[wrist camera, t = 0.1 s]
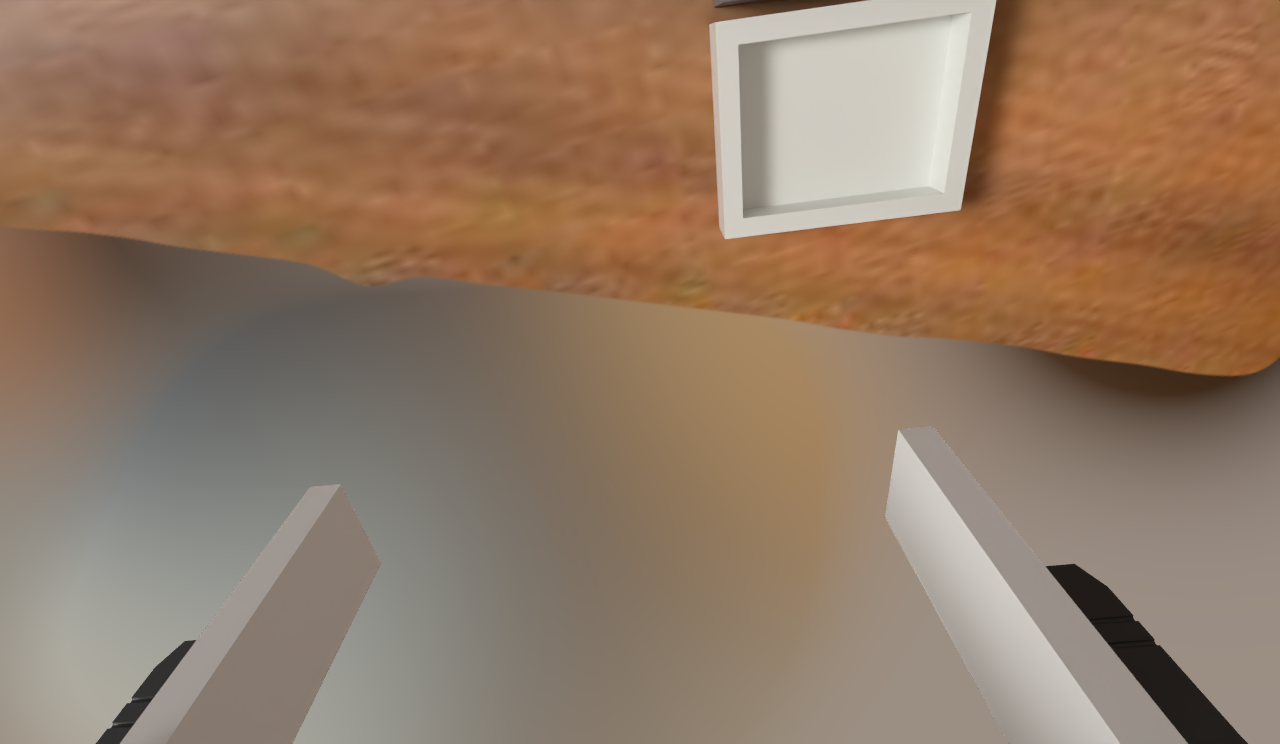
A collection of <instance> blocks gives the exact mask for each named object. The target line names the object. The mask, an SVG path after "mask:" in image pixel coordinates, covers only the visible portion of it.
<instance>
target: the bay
mask: <svg viewBox="0 0 1280 744" xmlns="http://www.w3.org/2000/svg"><path fill="white" fill-rule="evenodd" d="M755 1H762V0H713V3H714V7H720V6H727V5H734V4H741V3H748V2H755Z"/></svg>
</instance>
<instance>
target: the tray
mask: <svg viewBox="0 0 1280 744" xmlns="http://www.w3.org/2000/svg"><path fill="white" fill-rule="evenodd" d="M995 5H996V0H867V1H860V2H853V3H846V4H839V5H832V6H825V7H818V8H811V9H805V10H798V11H791V12H784V13H777V14H770V15H763V16H756V17H749V18H742V19H735V20H728V21H721V22H715V23H712V24H709V28H710V48H711V68H712V89H713V109H714V129H715V149H716V169H717V189H718V210H719V228H720V230H721V232H722V234H723V236H724V238H725V239H730V238H738V237H746V236H754V235H763V234H771V233H779V232H787V231H795V230H803V229H811V228H819V227H827V226H836V225H844V224H852V223H860V222H868V221H876V220H884V219H892V218H900V217H909V216H917V215H925V214H933V213H941V212H949V211H957V210H961V205H962V199H963V193H964V187H965V181H966V176H967V170H968V164H969V158H970V152H971V146H972V140H973V134H974V129H975V123H976V117H977V111H978V105H979V99H980V93H981V87H982V82H983V76H984V70H985V64H986V58H987V52H988V46H989V40H990V35H991V29H992V23H993V17H994V11H995Z"/></svg>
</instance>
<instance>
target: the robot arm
mask: <svg viewBox="0 0 1280 744" xmlns="http://www.w3.org/2000/svg"><path fill="white" fill-rule="evenodd" d="M885 518H886V520H887V521H888V524H889V525H890V527H891V529H892V531H893V533H894V535H895V536H896V538H897V540H898V542H899V544H900V545H901V547H902V549H903V551H904V553H905V555H906V557H907V558H908V560H909V562H910V564H911V566H912V568H913V569H914V571H915V573H916V575H917V577H918V579H919V581H920V582H921V584H922V586H923V588H924V590H925V592H926V593H927V595H928V597H929V599H930V601H931V602H932V604H933V606H934V608H935V610H936V612H937V614H938V615H939V617H940V619H941V621H942V623H943V625H944V627H945V628H946V630H947V632H948V634H949V636H950V638H951V639H952V641H953V643H954V645H955V647H956V648H957V650H958V652H959V654H960V656H961V658H962V660H963V661H964V663H965V665H966V667H967V669H968V671H969V672H970V674H971V676H972V678H973V680H974V682H975V683H976V685H977V687H978V689H979V691H980V693H981V694H982V696H983V698H984V700H985V702H986V704H987V705H988V707H989V709H990V711H991V713H992V715H993V716H994V718H995V720H996V722H997V724H998V726H999V727H1000V729H1001V731H1002V733H1003V735H1004V737H1005V739H1006V740H1007V742H1008V744H1248V743H1247V742H1246V741H1245V740H1244V739H1243V738H1242V737H1241V736H1240V735H1239V734H1238V733H1237V731H1235V729H1234V728H1233V727H1232V726H1231V725H1230V724H1229V722H1228V721H1227V720H1226V719H1225V718H1224V717H1223V716H1222V715H1221V713H1220V712H1219V711H1218V710H1217V709H1216V708H1215V707H1214V706H1213V705H1212V703H1211V702H1210V701H1209V700H1208V699H1207V698H1206V697H1205V696H1204V694H1203V693H1202V692H1201V691H1200V690H1199V689H1198V688H1197V687H1196V685H1195V684H1194V683H1193V682H1192V681H1191V680H1190V679H1189V678H1188V676H1187V675H1186V674H1185V673H1184V672H1183V671H1182V670H1181V669H1180V667H1179V666H1178V665H1177V664H1176V663H1175V662H1174V661H1173V660H1172V658H1171V657H1170V656H1169V655H1168V654H1167V653H1166V652H1165V651H1164V649H1163V648H1162V647H1161V646H1160V645H1159V646H1157V645H1156V644H1155V642H1154V638H1153V637H1152V636H1151V635H1150V634H1149V633H1148V632H1147V630H1146V629H1145V628H1144V627H1143V626H1142V625H1141V624H1140V623H1139V621H1135V620H1134V619H1133V615H1132V614H1131V612H1130V611H1129V610H1128V609H1127V608H1126V607H1125V606H1124V605H1123V603H1122V602H1121V601H1120V600H1119V599H1118V598H1117V597H1116V596H1115V595H1114V593H1113V592H1112V591H1111V590H1110V589H1109V588H1108V587H1107V586H1106V585H1104V584H1103V583H1101V582H1100V581H1098V580H1097V579H1096V578H1094V577H1093V576H1091V575H1090V574H1088V573H1087V572H1085V571H1084V570H1082V569H1081V568H1080V567H1078V566H1077V565H1075V564H1068V565H1056V566H1045V565H1044V564H1043V563H1042V562H1041V560H1040V559H1039V558H1038V557H1037V555H1036V554H1035V553H1034V552H1033V550H1032V549H1031V548H1030V547H1029V545H1028V544H1027V543H1026V542H1025V540H1024V539H1023V538H1022V537H1021V535H1020V534H1019V533H1018V532H1017V531H1016V529H1015V528H1014V527H1013V526H1012V524H1011V523H1010V522H1009V521H1008V519H1007V518H1006V517H1005V516H1004V514H1003V513H1002V512H1001V511H1000V509H999V508H998V507H997V506H996V504H995V503H994V502H993V501H992V499H991V498H990V497H989V496H988V495H987V493H986V492H985V491H984V490H983V488H982V487H981V486H980V485H979V484H978V482H977V481H976V480H975V478H974V477H973V476H972V475H971V473H970V472H969V471H968V470H967V469H966V467H965V466H964V465H963V463H962V462H961V461H960V460H959V459H958V457H957V456H956V455H955V453H954V452H953V451H952V450H951V449H950V447H949V446H948V445H947V444H946V442H945V441H944V440H943V439H942V437H941V436H940V435H939V434H938V432H937V431H936V430H935V429H934V427H932V426H931V427H921V428H911V429H900V430H898V436H897V443H896V450H895V456H894V462H893V469H892V475H891V482H890V489H889V496H888V502H887V509H886V516H885ZM380 565H381V561H380V559H379V557H378V556H377V554H376V552H375V550H374V548H373V546H372V544H371V542H370V540H369V538H368V536H367V534H366V532H365V530H364V528H363V526H362V524H361V522H360V520H359V518H358V517H357V514H356V512H355V511H354V509H353V507H352V505H351V503H350V501H349V499H348V497H347V495H346V493H345V491H344V489H343V487H342V486H341V484H337V485H328V486H317V487H310V488H309V489H308V491H307V492H306V493H305V495H304V496H303V497H302V499H301V500H300V502H299V503H298V504H297V505H296V507H295V508H294V509H293V511H292V512H291V514H290V515H289V517H288V518H287V519H286V520H285V522H284V523H283V524H282V526H281V527H280V528H279V530H278V531H277V532H276V534H275V535H274V537H273V538H272V539H271V540H270V542H269V543H268V545H267V546H266V547H265V549H264V550H263V551H262V553H261V554H260V555H259V557H258V558H257V559H256V561H255V562H254V563H253V565H252V566H251V567H250V569H249V570H248V572H247V573H246V574H245V576H244V577H243V578H242V580H241V581H240V582H239V584H238V585H237V586H236V588H235V589H234V590H233V592H232V593H231V594H230V596H229V597H228V599H227V600H226V601H225V603H224V604H223V605H222V607H221V608H220V609H219V611H218V612H217V613H216V615H215V616H214V617H213V619H212V620H211V621H210V623H209V624H208V625H207V627H206V628H205V629H204V631H203V632H202V633H201V635H200V636H199V638H198V639H197V640H193V641H185V642H183V643H182V644H181V645H180V646H179V647H178V648H177V649H175V650H174V651H173V652H172V653H171V654H170V655H169V656H168V657H166V658H165V659H164V660H163V661H162V662H161V663H160V664H158V665H157V666H156V667H155V668H154V669H153V671H152V672H151V673H150V675H149V676H148V677H147V678H146V680H145V681H144V682H143V684H142V685H141V686H140V688H139V689H138V690H137V691H136V693H135V694H134V695H133V697H132V701H131V703H128V704H126V706H125V707H124V708H123V709H122V711H121V712H120V713H119V715H118V716H117V717H116V718H115V720H114V721H113V726H112V727H111V728H110V729H107V730H106V731H105V733H104V734H103V735H102V737H101V738H100V739H99V740H98V742H97V743H96V744H292V743H293V741H294V739H295V737H296V735H297V733H298V731H299V729H300V727H301V725H302V723H303V721H304V719H305V717H306V715H307V713H308V711H309V709H310V707H311V705H312V703H313V701H314V699H315V697H316V694H317V693H318V691H319V688H320V687H321V685H322V682H323V680H324V678H325V676H326V674H327V672H328V670H329V668H330V666H331V664H332V662H333V660H334V658H335V656H336V654H337V652H338V650H339V648H340V646H341V644H342V642H343V640H344V638H345V636H346V634H347V632H348V629H349V627H350V626H351V624H352V622H353V620H354V617H355V615H356V613H357V611H358V609H359V607H360V605H361V603H362V601H363V599H364V597H365V595H366V593H367V591H368V589H369V587H370V585H371V583H372V581H373V579H374V577H375V575H376V573H377V570H378V569H379V567H380Z"/></svg>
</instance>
